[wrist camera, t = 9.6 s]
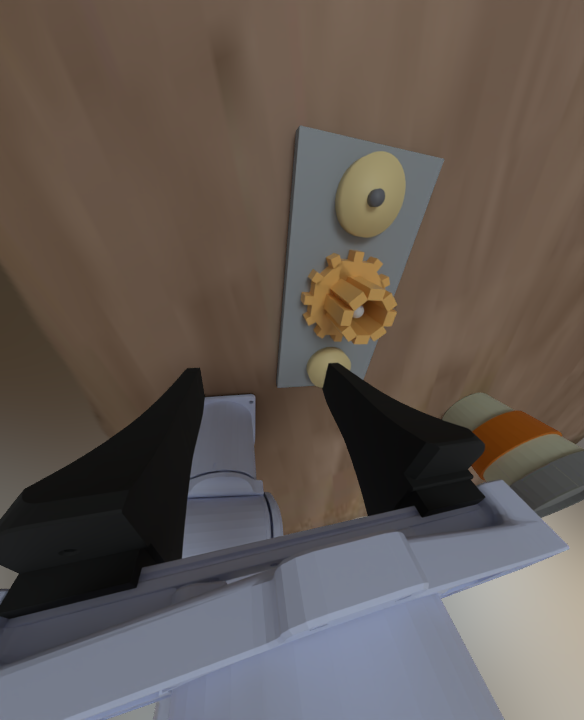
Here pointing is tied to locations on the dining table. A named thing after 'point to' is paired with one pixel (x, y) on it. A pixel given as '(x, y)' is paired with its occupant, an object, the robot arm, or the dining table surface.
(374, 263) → the amber gear
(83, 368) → the dining table surface
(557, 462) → the reusable coffee cup
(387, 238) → the gear board
